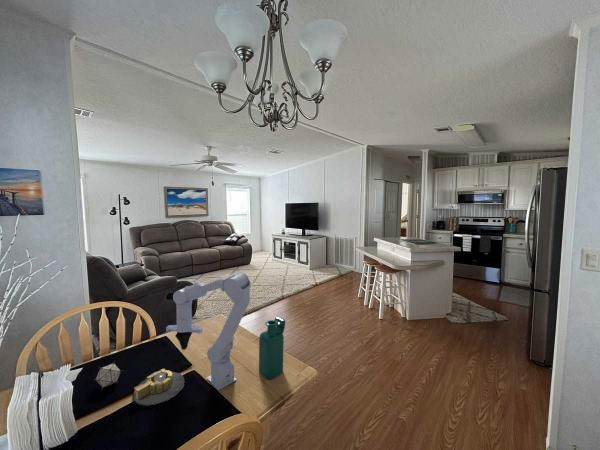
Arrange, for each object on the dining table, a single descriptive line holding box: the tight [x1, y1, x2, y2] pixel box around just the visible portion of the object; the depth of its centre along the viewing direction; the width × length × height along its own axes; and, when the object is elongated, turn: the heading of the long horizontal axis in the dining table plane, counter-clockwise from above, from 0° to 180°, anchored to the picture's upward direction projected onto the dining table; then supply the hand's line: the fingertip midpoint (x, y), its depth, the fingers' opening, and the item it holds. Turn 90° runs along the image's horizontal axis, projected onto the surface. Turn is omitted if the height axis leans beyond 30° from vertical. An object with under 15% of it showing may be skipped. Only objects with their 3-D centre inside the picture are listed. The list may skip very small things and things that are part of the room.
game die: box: [93, 360, 124, 391], centre depth 99 cm, size 9×8×10 cm
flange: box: [132, 371, 185, 407], centre depth 98 cm, size 17×17×5 cm
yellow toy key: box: [135, 368, 173, 399], centre depth 96 cm, size 12×9×4 cm
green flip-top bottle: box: [258, 316, 286, 380], centre depth 109 cm, size 10×8×22 cm
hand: (184, 348), depth 108 cm, fingers closed
